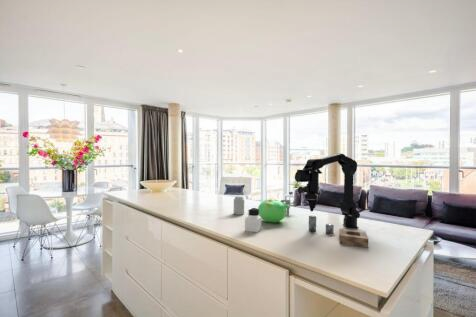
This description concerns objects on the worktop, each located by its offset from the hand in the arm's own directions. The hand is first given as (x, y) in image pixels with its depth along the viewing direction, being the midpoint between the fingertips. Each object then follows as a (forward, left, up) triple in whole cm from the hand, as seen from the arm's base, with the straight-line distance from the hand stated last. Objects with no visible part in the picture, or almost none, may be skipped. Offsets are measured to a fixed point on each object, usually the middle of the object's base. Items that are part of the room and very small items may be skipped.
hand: (312, 209), depth 134 cm
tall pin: (0, 0, -12) cm, 12 cm away
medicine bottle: (+33, -1, -12) cm, 35 cm away
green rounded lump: (+19, -18, -12) cm, 29 cm away
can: (+39, -38, -12) cm, 56 cm away
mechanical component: (+4, -38, -12) cm, 40 cm away
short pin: (-8, +4, -12) cm, 15 cm away
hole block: (-14, +17, -12) cm, 25 cm away
